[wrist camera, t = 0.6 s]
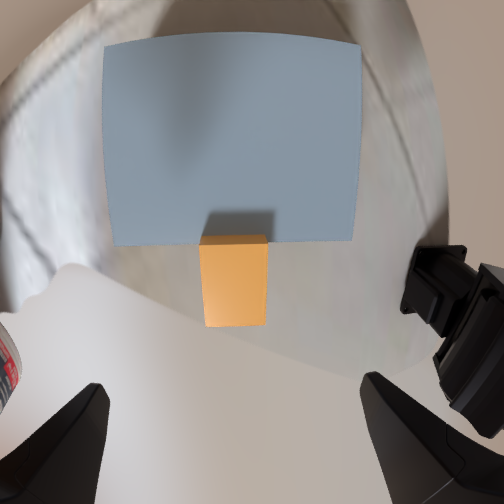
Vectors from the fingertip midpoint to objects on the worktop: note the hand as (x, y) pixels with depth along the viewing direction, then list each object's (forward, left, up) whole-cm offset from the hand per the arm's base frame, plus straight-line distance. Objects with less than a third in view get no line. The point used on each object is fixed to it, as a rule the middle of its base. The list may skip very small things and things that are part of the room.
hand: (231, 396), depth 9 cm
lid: (0, -6, -9) cm, 10 cm away
